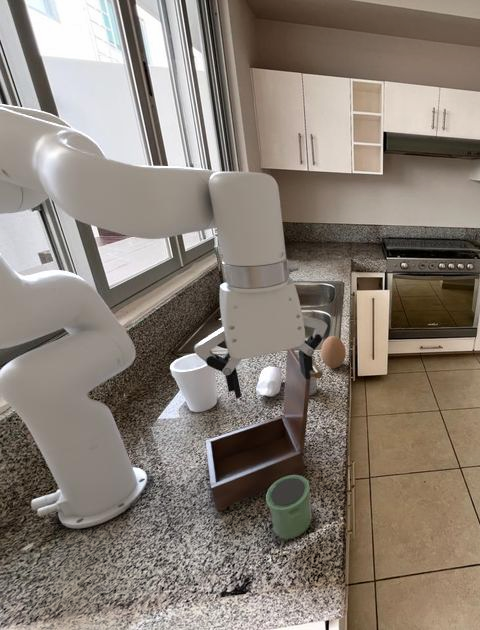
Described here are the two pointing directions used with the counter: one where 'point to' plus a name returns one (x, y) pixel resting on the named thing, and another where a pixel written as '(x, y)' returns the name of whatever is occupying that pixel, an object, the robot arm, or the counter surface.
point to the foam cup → (195, 382)
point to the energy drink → (312, 382)
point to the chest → (251, 460)
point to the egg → (333, 352)
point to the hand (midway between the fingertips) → (273, 383)
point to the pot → (289, 506)
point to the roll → (269, 381)
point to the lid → (297, 397)
